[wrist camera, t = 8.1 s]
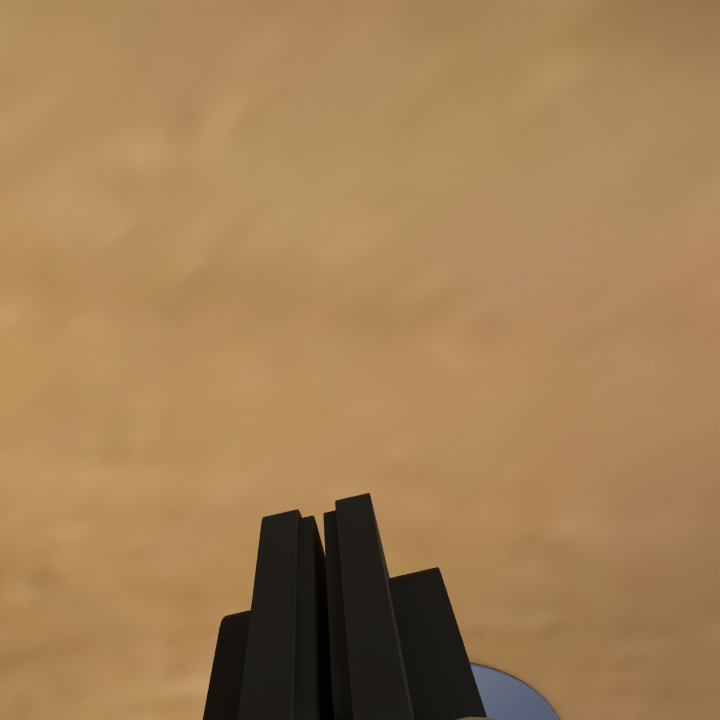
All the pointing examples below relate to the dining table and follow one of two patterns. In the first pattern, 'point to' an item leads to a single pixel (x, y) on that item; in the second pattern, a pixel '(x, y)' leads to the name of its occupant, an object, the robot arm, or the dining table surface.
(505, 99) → the dining table surface
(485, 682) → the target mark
